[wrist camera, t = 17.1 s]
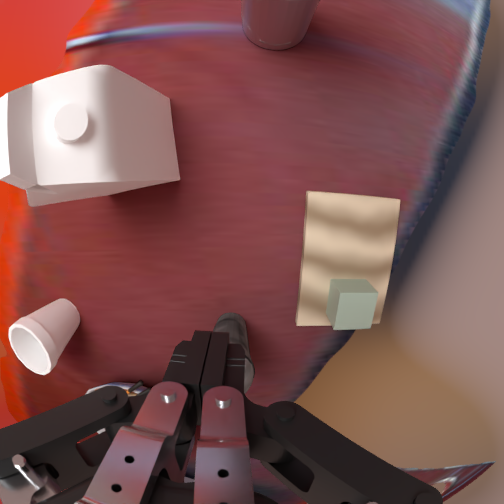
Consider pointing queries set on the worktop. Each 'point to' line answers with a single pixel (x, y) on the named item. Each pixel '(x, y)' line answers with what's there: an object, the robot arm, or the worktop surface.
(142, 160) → the milk
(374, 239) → the post board
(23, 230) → the worktop surface
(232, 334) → the beverage cup
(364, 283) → the grey-green block
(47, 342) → the foam cup
